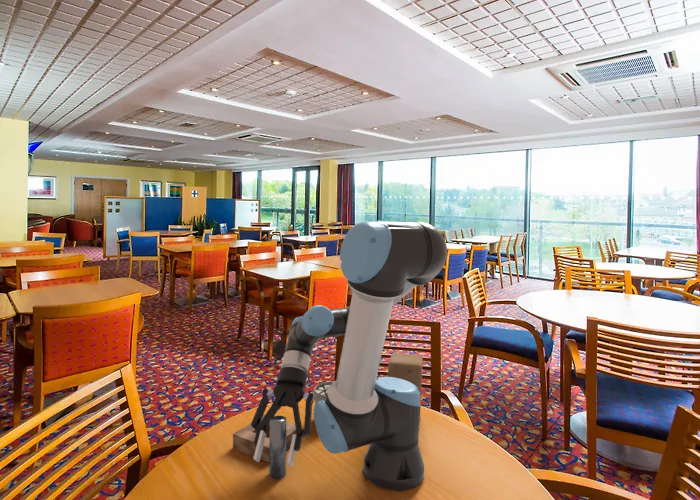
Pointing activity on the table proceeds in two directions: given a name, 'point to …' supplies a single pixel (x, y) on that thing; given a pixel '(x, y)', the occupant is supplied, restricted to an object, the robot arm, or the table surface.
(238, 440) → the square block with hole
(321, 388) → the food container
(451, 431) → the table surface
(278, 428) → the peg
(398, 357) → the wooden block
